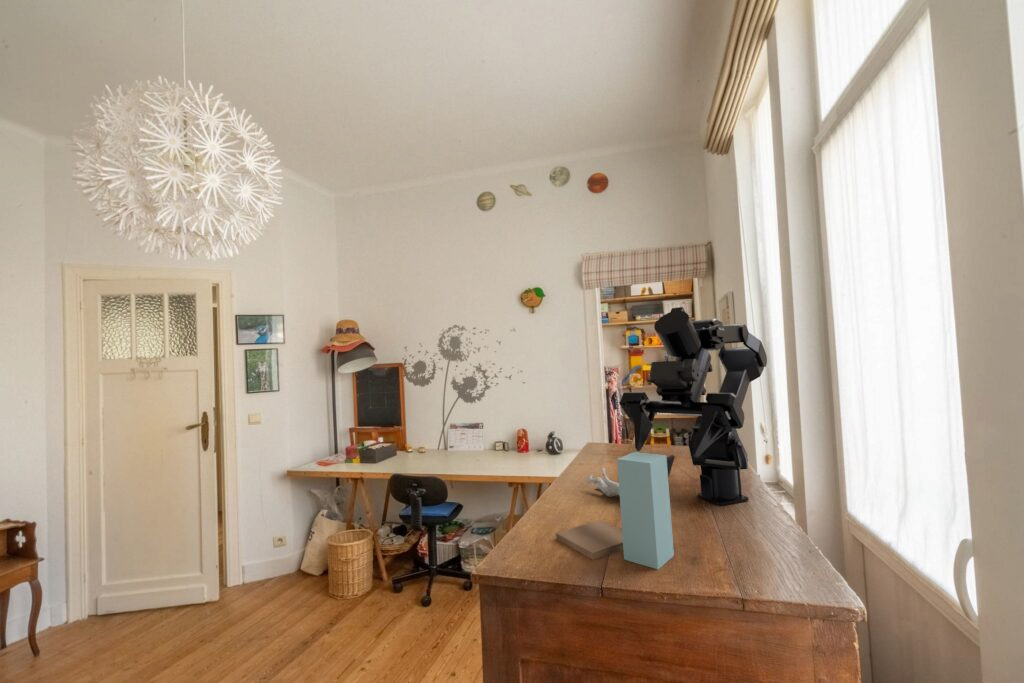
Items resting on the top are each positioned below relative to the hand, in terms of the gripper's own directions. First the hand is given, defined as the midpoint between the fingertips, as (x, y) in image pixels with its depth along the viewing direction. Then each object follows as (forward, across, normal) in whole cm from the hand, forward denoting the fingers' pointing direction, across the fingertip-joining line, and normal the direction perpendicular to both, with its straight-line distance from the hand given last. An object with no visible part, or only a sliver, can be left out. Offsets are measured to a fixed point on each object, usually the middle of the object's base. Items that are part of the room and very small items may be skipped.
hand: (664, 452), depth 68 cm
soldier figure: (0, -19, +19) cm, 26 cm away
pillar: (+14, 0, +4) cm, 15 cm away
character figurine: (-5, -14, +24) cm, 28 cm away
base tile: (+14, -9, +5) cm, 18 cm away
